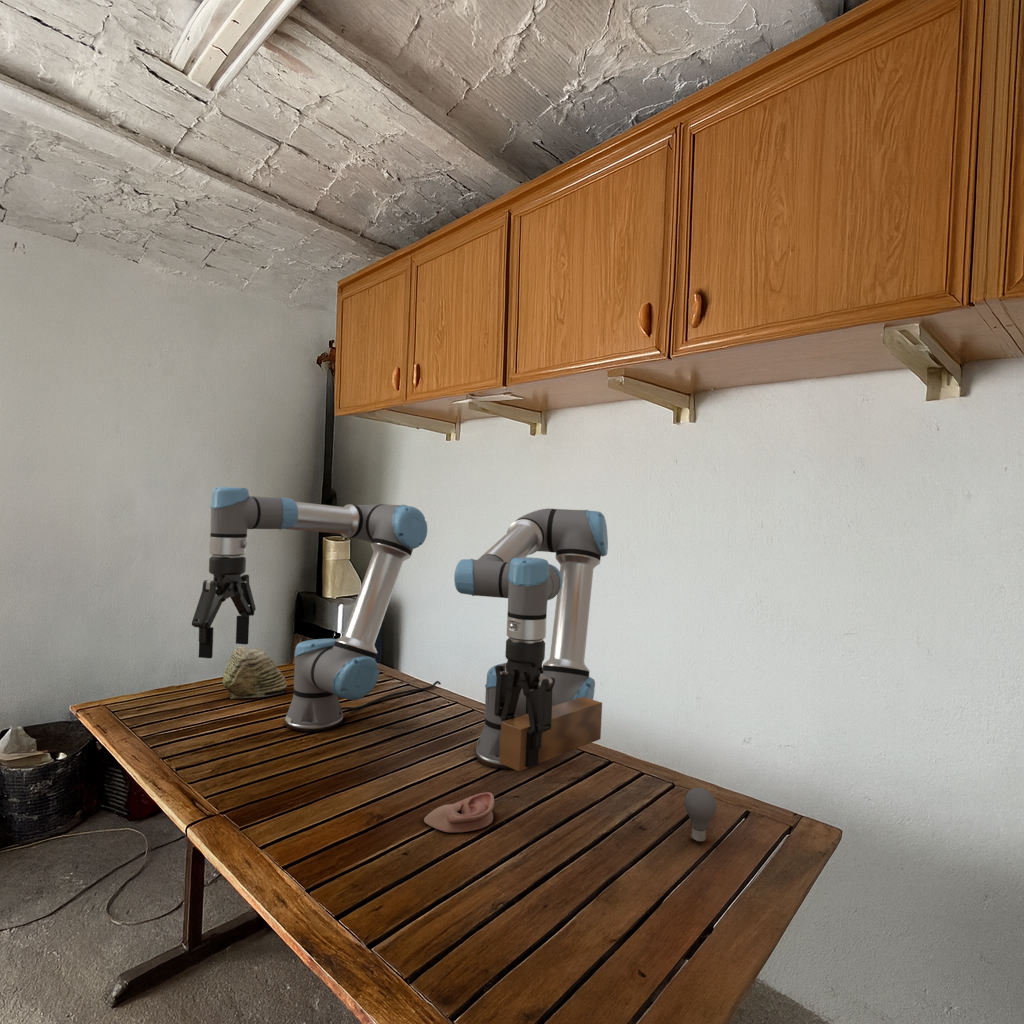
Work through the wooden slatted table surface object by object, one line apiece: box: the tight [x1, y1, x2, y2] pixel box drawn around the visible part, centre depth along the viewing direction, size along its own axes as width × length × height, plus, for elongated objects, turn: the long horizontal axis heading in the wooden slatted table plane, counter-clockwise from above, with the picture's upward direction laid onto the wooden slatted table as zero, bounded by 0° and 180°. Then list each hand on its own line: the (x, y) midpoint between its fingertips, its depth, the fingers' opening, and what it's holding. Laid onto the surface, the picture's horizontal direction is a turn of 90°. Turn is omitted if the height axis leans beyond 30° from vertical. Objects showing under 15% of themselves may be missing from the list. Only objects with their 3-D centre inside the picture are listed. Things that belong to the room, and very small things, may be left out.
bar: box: [499, 697, 603, 772], centre depth 128 cm, size 26×5×8 cm, turn 137°
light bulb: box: [683, 787, 718, 842], centre depth 123 cm, size 6×6×10 cm
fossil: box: [222, 646, 288, 699], centre depth 198 cm, size 9×18×15 cm, turn 132°
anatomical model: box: [423, 791, 495, 834], centre depth 127 cm, size 13×4×12 cm
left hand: (224, 650), depth 142 cm, fingers open, 13 cm apart
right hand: (520, 760), depth 121 cm, fingers closed on bar, 5 cm apart
